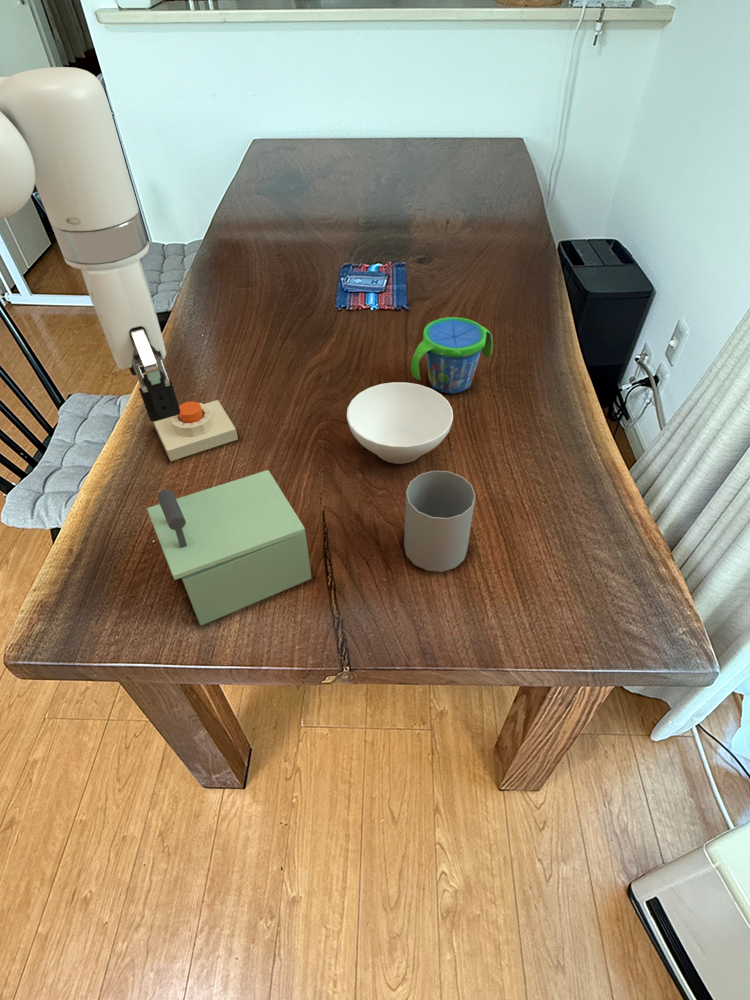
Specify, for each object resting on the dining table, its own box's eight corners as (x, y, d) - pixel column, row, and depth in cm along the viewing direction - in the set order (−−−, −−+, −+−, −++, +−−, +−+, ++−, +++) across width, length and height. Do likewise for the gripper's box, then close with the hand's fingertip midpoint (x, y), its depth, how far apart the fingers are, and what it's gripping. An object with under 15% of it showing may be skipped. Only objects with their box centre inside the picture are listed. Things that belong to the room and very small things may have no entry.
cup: (466, 526, 82) (474, 472, 75) (467, 573, 77) (476, 520, 70) (405, 522, 83) (408, 468, 76) (402, 568, 77) (403, 515, 70)
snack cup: (423, 410, 101) (426, 357, 94) (398, 377, 108) (399, 326, 101) (503, 389, 105) (512, 337, 98) (474, 359, 112) (480, 309, 105)
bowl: (330, 465, 91) (327, 429, 86) (373, 408, 102) (373, 373, 97) (428, 495, 87) (431, 458, 82) (463, 431, 97) (467, 396, 92)
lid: (174, 580, 64) (162, 546, 60) (148, 512, 72) (136, 477, 68) (305, 532, 70) (302, 498, 66) (268, 474, 77) (264, 440, 73)
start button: (183, 426, 93) (181, 417, 92) (177, 414, 95) (174, 405, 94) (206, 419, 94) (203, 410, 93) (199, 407, 96) (196, 398, 95)
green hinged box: (200, 626, 71) (183, 581, 65) (174, 560, 79) (156, 514, 72) (311, 578, 76) (305, 532, 70) (277, 520, 83) (269, 474, 77)
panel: (170, 461, 92) (163, 441, 90) (155, 429, 98) (149, 410, 95) (238, 439, 96) (233, 419, 93) (220, 410, 102) (215, 390, 99)
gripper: (47, 213, 58) (107, 364, 71) (72, 284, 47) (137, 448, 60) (126, 199, 61) (170, 348, 73) (166, 264, 50) (210, 425, 62)
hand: (155, 393), depth 66 cm, fingers open, 9 cm apart
